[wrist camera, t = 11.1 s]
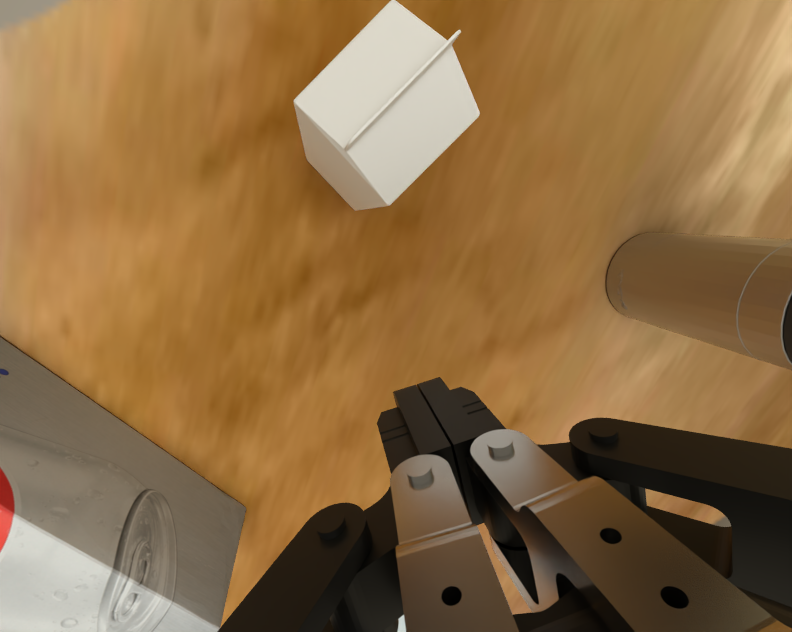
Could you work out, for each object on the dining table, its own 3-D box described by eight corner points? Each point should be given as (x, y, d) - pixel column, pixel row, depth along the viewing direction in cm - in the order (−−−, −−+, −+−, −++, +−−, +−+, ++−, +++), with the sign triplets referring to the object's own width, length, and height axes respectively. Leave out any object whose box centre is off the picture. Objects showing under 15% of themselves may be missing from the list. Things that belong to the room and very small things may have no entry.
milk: (305, 159, 35) (280, 74, 14) (355, 108, 35) (405, -56, 14) (356, 212, 37) (400, 206, 16) (403, 164, 37) (513, 93, 16)
